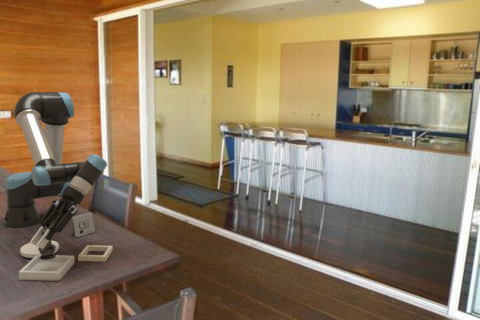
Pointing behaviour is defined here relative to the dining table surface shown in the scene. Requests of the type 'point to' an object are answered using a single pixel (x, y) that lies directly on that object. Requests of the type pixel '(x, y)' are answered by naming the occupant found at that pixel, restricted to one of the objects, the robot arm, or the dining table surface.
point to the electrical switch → (82, 224)
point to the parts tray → (46, 268)
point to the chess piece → (47, 248)
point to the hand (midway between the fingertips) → (36, 245)
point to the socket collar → (85, 257)
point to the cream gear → (34, 249)
